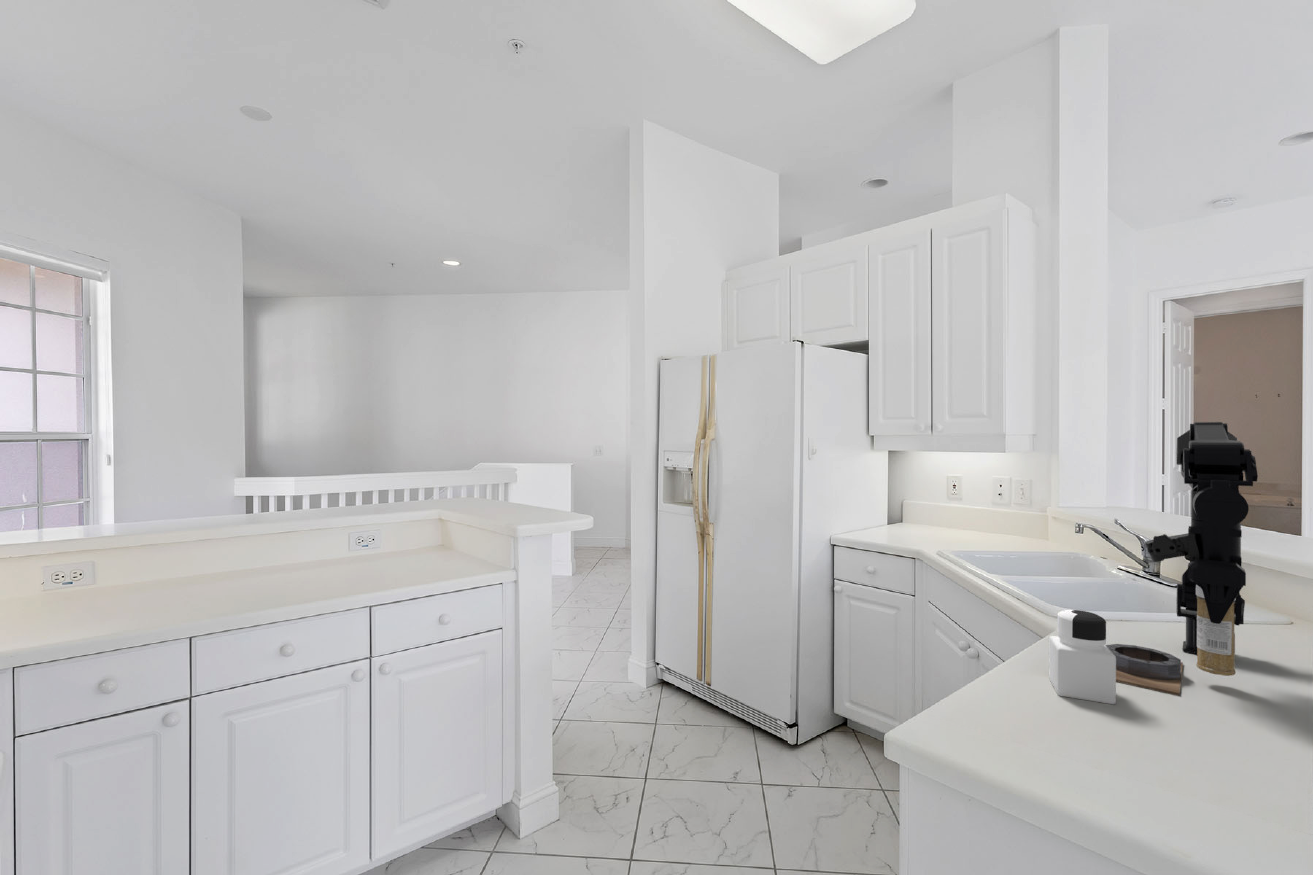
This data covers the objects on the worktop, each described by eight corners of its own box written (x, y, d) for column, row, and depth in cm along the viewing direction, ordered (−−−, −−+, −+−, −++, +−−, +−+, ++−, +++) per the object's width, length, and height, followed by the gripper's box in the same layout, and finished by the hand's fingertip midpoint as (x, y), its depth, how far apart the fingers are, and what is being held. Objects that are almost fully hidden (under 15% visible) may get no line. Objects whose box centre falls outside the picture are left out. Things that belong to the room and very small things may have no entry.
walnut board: (1110, 650, 109) (1110, 648, 109) (1182, 664, 102) (1182, 662, 102) (1096, 677, 95) (1097, 674, 95) (1179, 695, 89) (1179, 692, 89)
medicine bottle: (1103, 687, 91) (1103, 610, 91) (1116, 705, 85) (1116, 622, 85) (1048, 679, 94) (1049, 604, 94) (1057, 696, 88) (1058, 615, 88)
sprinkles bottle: (1239, 673, 92) (1239, 586, 92) (1230, 679, 89) (1230, 590, 89) (1200, 663, 96) (1200, 581, 96) (1191, 669, 93) (1191, 584, 93)
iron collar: (1108, 653, 106) (1108, 640, 106) (1181, 668, 99) (1181, 654, 99) (1100, 668, 98) (1100, 653, 98) (1179, 685, 92) (1179, 669, 92)
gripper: (1152, 512, 105) (1152, 599, 105) (1144, 520, 91) (1144, 621, 91) (1240, 518, 97) (1240, 612, 97) (1246, 528, 84) (1245, 638, 84)
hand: (1215, 619), depth 93 cm, fingers closed on sprinkles bottle, 4 cm apart
